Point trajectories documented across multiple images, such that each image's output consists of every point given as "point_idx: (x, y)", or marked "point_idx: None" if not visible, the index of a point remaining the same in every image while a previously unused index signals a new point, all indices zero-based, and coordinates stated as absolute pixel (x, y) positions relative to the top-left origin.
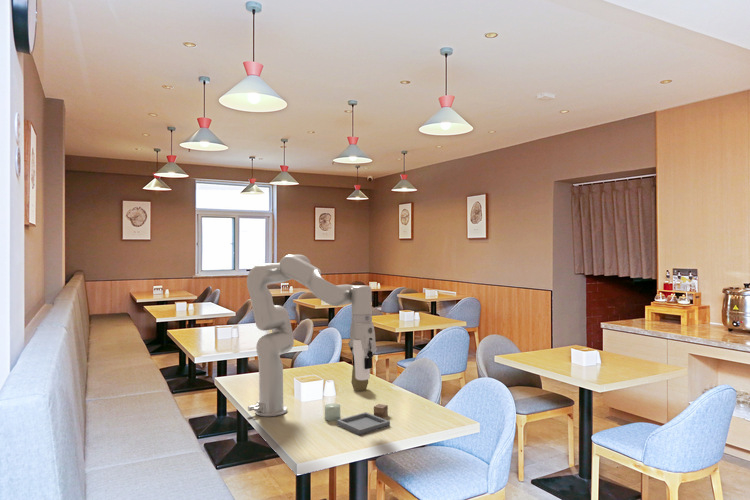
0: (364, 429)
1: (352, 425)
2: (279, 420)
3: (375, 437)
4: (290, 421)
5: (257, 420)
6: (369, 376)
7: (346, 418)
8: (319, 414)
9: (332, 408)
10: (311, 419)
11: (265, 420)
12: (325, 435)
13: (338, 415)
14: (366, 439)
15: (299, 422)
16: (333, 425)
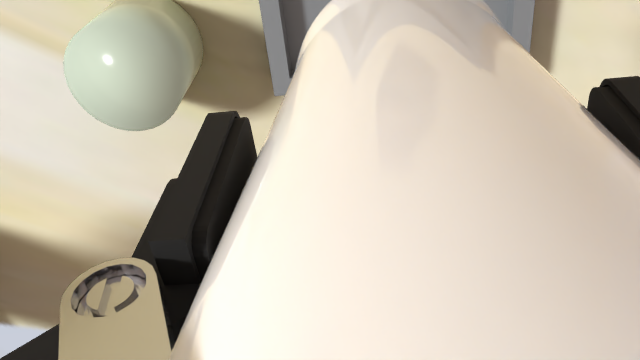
0: (529, 38)
1: None
2: (61, 266)
3: (621, 5)
4: (98, 237)
5: (24, 326)
6: (496, 16)
7: (280, 28)
8: (36, 71)
9: (178, 104)
10: (111, 148)
11: (37, 305)
12: None
13: (189, 38)
14: (598, 68)
15: (133, 213)
16: (273, 100)
